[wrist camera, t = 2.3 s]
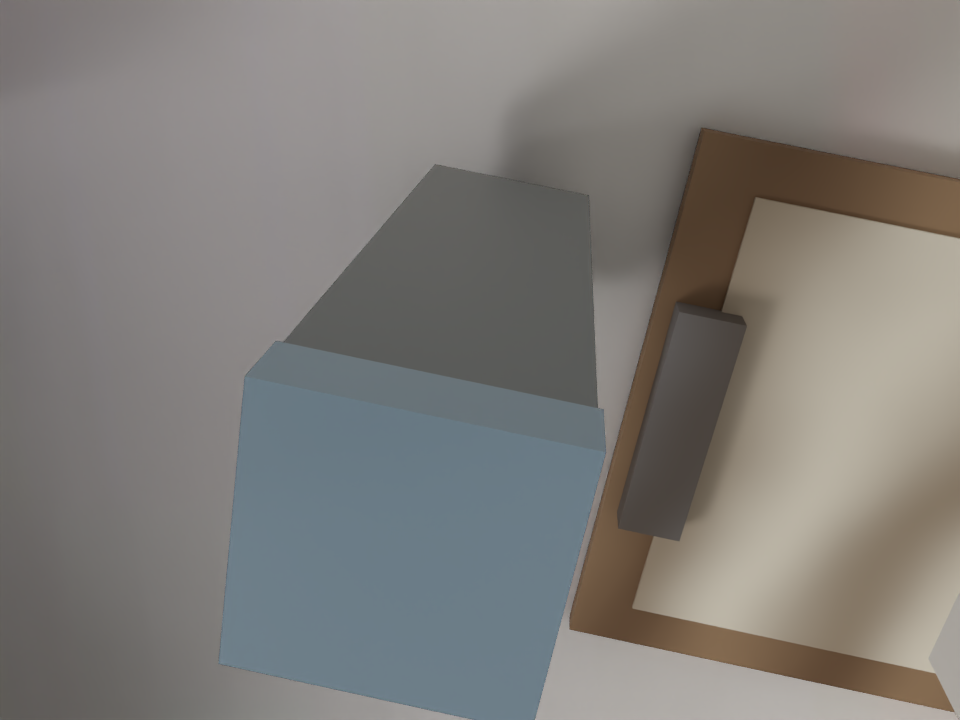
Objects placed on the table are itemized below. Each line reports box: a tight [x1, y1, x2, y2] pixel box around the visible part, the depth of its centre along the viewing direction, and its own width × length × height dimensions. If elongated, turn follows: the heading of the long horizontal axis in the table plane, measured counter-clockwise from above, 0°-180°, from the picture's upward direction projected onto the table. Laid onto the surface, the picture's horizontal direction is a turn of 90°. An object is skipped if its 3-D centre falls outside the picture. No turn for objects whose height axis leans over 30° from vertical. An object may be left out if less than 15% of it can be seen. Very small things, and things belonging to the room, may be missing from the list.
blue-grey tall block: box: [219, 164, 606, 720], centre depth 16 cm, size 4×4×14 cm
